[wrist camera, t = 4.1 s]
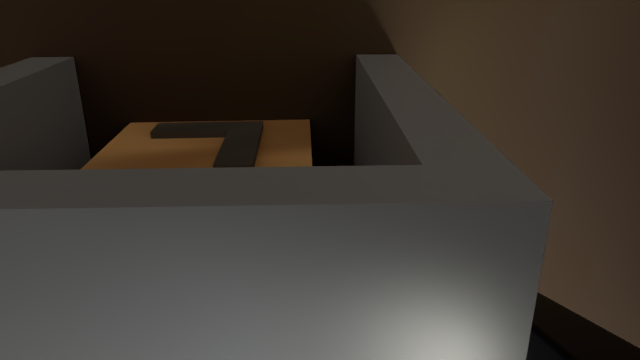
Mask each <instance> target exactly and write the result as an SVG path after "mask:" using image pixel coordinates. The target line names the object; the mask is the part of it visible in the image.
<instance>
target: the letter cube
mask: <svg viewBox="0 0 640 360" xmlns="http://www.w3.org/2000/svg"><path fill="white" fill-rule="evenodd" d="M302 166H312V152H311V134H310V119H307V120H251V121H194V122H138V123H130V124H128V125H127V126H126V127H125V128H124V129H123V130H122V131H121V132H120V133H119V134H118V135H117V136H116V137H115V138H113V139H112V140H111V141H110V142H109V143H108V144H107V145H106V146H105V147H104V148H103V149H102V150H101V151H100V152H98V153H97V154H96V155H95V156H94V157H93V158H92V159H91V160H90V161H89V162H88V163H87V164H86V165H85V166H83V167H82V168H81V169H80V170H82V169H155V168H229V167H302Z"/></svg>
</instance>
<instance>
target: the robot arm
mask: <svg viewBox="0 0 640 360" xmlns="http://www.w3.org/2000/svg"><path fill="white" fill-rule="evenodd" d="M526 360H640V348H638V347H636V346H634V345H633V344H631V343H629V342H627V341H625V340H624V339H622V338H620V337H618V336H616V335H614V334H613V333H611V332H609V331H607V330H605V329H604V328H602V327H600V326H598V325H596V324H594V323H593V322H591V321H589V320H587V319H585V318H584V317H582V316H580V315H578V314H576V313H575V312H573V311H571V310H569V309H567V308H565V307H564V306H562V305H560V304H558V303H556V302H555V301H553V300H551V299H549V298H547V297H545V296H544V295H542V294H540V293H538V292H537V297H536V303H535V309H534V315H533V321H532V327H531V333H530V338H529V344H528V350H527V356H526Z"/></svg>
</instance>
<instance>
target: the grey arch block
mask: <svg viewBox="0 0 640 360" xmlns="http://www.w3.org/2000/svg"><path fill="white" fill-rule="evenodd" d="M90 160H91V156H90V150H89V144H88V138H87V132H86V126H85V121H84V115H83V109H82V103H81V97H80V91H79V85H78V79H77V73H76V67H75V62H74V57H30V58H27V59H25V60H22V61H19V62H16V63H13V64H10V65H7V66H4V67H1V68H0V360H526V356H527V350H528V344H529V338H530V333H531V327H532V321H533V315H534V309H535V303H536V297H537V292H538V286H539V280H540V274H541V268H542V262H543V257H544V251H545V245H546V239H547V233H548V227H549V221H550V216H551V210H552V204H553V200H552V199H551V198H550V197H549V196H547V195H546V194H545V193H544V192H543V191H542V190H541V189H540V188H539V187H538V186H537V185H536V184H535V183H534V182H533V181H532V180H530V179H529V178H528V177H527V176H526V175H525V174H524V173H523V172H522V171H521V170H520V169H519V168H518V167H517V166H516V165H515V164H513V163H512V162H511V161H510V160H509V159H508V158H507V157H506V156H505V155H504V154H503V153H502V152H501V151H500V150H499V149H498V148H496V147H495V146H494V145H493V144H492V143H491V142H490V141H489V140H488V139H487V138H486V137H485V136H484V135H483V134H482V133H481V132H479V131H478V130H477V129H476V128H475V127H474V126H473V125H472V124H471V123H470V122H469V121H468V120H467V119H466V118H465V117H463V116H462V115H461V114H460V113H459V112H458V111H457V110H456V109H455V108H454V107H453V106H452V105H451V104H450V103H449V102H448V101H446V100H445V99H444V98H443V97H442V96H441V95H440V94H439V93H438V92H437V91H436V90H435V89H434V88H433V87H432V86H431V85H429V84H428V83H427V82H426V81H425V80H424V79H423V78H422V77H421V76H420V75H419V74H418V73H417V72H416V71H415V70H414V69H412V68H411V67H410V66H409V65H408V64H407V63H406V62H405V61H404V60H403V59H402V58H401V57H400V56H399V55H398V54H372V55H356V89H355V135H354V166H302V167H229V168H155V169H82V170H80V169H81V168H82V167H83V166H85V165H86V164H87V163H88V162H89V161H90Z"/></svg>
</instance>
